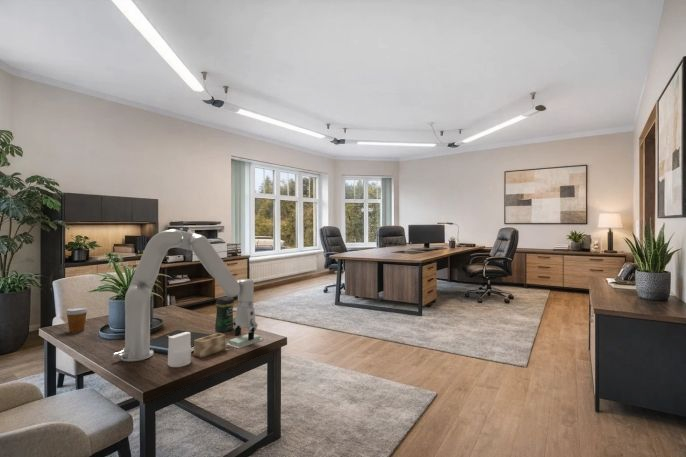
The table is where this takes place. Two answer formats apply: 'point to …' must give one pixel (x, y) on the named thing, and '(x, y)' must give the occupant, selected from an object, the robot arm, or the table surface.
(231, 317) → the coffee jar
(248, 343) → the felt mat
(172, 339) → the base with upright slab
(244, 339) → the lid
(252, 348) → the table surface
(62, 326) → the table surface
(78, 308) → the disposable coffee cup
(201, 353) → the pencil box
